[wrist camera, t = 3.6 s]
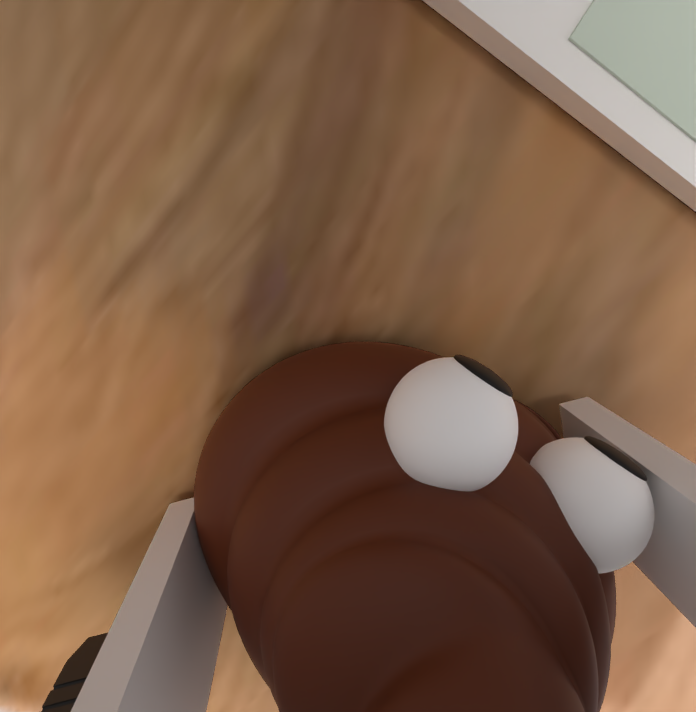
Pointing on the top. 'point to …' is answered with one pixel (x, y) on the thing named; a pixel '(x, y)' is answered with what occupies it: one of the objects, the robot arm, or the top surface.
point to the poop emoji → (415, 537)
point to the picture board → (604, 70)
